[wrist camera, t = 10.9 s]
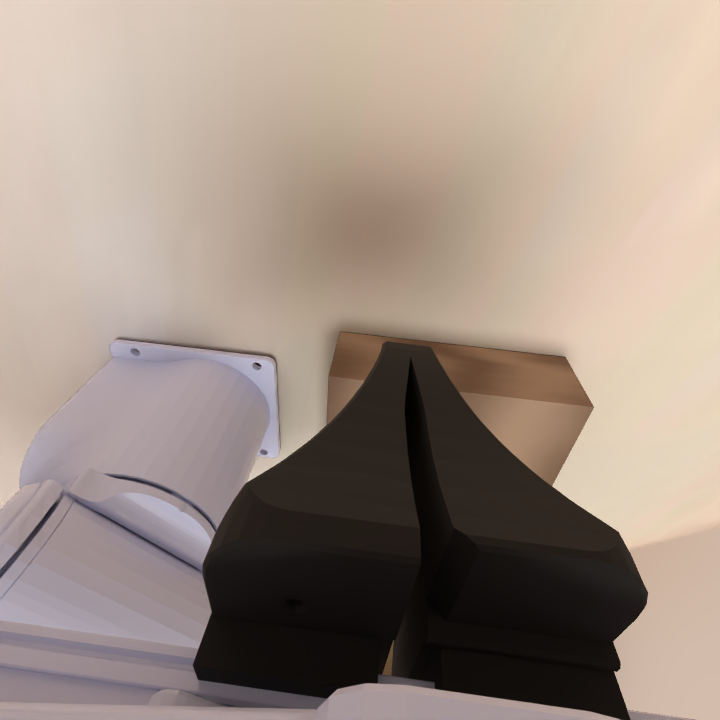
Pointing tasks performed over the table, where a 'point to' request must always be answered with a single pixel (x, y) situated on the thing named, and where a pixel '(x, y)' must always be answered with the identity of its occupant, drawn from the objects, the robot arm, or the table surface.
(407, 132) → the table surface
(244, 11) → the table surface
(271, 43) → the table surface
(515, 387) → the block
